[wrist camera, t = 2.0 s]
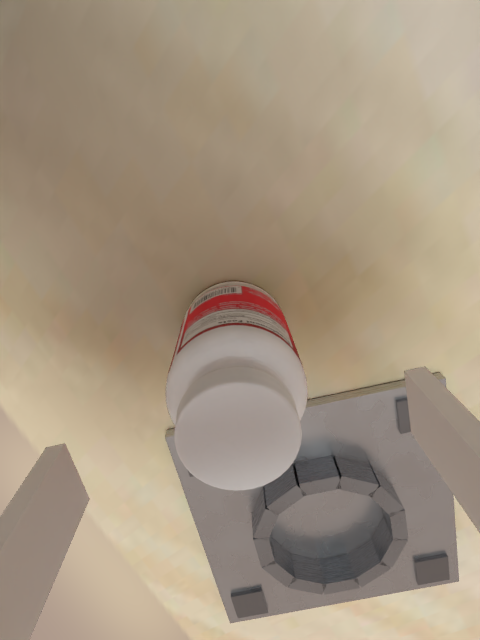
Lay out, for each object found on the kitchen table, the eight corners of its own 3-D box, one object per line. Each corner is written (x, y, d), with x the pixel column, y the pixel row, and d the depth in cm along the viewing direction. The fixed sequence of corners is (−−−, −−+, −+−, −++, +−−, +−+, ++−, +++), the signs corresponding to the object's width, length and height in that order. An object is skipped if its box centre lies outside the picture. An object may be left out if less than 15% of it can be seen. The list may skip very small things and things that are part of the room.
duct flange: (166, 429, 28) (160, 457, 25) (439, 372, 27) (462, 395, 24) (230, 613, 34) (230, 650, 32) (453, 571, 33) (473, 607, 31)
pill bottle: (250, 389, 27) (264, 529, 17) (165, 344, 26) (122, 466, 16) (305, 310, 25) (357, 413, 15) (216, 258, 24) (206, 331, 14)
